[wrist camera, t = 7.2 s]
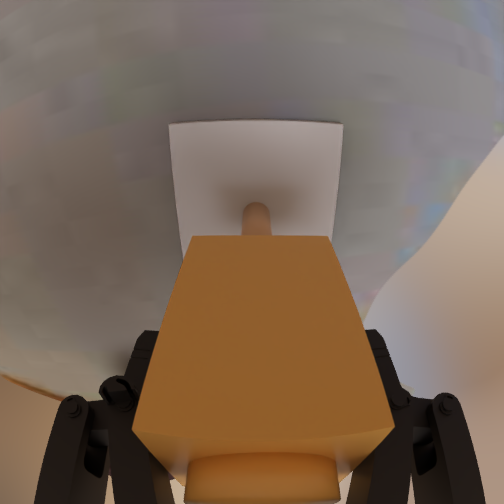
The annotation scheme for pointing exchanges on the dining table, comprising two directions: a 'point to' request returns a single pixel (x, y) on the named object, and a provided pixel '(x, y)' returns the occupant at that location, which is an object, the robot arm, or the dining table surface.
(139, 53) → the dining table surface
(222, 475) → the orange toy brick
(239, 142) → the white pegged board
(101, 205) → the dining table surface
